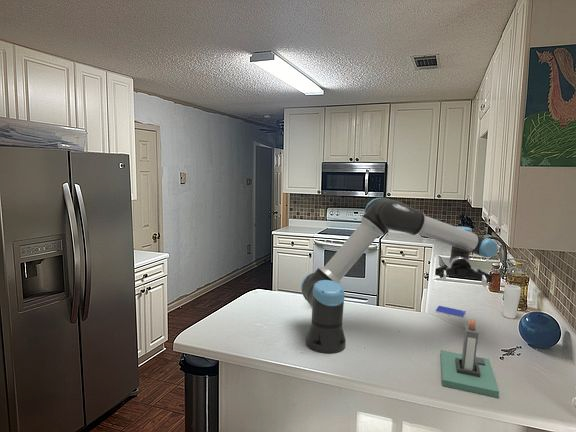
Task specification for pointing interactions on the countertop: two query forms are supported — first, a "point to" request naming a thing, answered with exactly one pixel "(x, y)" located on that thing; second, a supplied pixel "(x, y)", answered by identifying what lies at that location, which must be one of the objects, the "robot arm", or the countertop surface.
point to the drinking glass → (511, 300)
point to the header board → (468, 375)
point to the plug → (469, 346)
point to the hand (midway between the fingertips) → (464, 280)
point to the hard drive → (451, 311)
